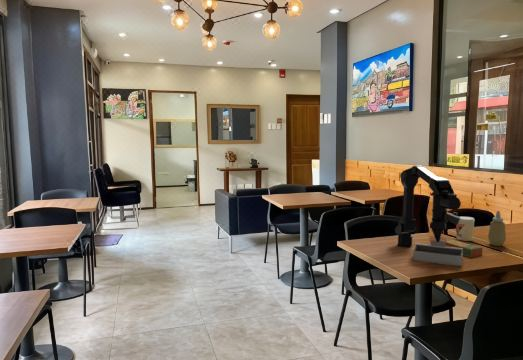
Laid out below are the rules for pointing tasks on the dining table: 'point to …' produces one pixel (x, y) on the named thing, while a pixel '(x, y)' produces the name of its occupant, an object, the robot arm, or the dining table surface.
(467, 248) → the carton
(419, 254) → the box
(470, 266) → the dining table surface
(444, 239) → the flap
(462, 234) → the coffee cup
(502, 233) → the squeeze bottle
